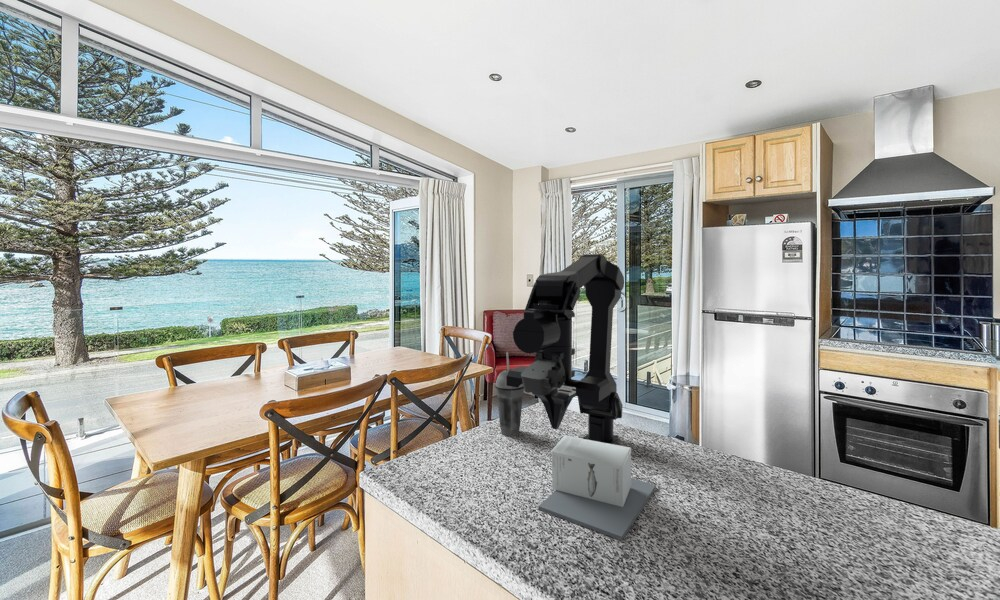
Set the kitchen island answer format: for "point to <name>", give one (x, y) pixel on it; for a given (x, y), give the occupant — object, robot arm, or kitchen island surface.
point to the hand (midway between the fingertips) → (555, 428)
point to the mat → (600, 509)
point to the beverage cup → (509, 404)
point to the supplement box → (592, 469)
